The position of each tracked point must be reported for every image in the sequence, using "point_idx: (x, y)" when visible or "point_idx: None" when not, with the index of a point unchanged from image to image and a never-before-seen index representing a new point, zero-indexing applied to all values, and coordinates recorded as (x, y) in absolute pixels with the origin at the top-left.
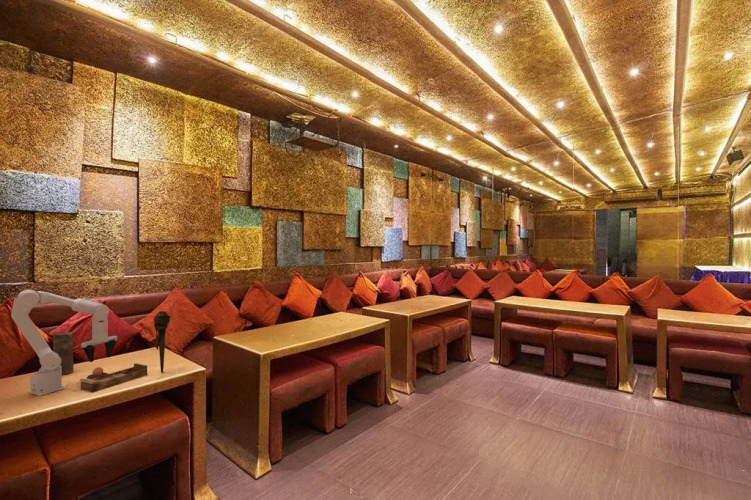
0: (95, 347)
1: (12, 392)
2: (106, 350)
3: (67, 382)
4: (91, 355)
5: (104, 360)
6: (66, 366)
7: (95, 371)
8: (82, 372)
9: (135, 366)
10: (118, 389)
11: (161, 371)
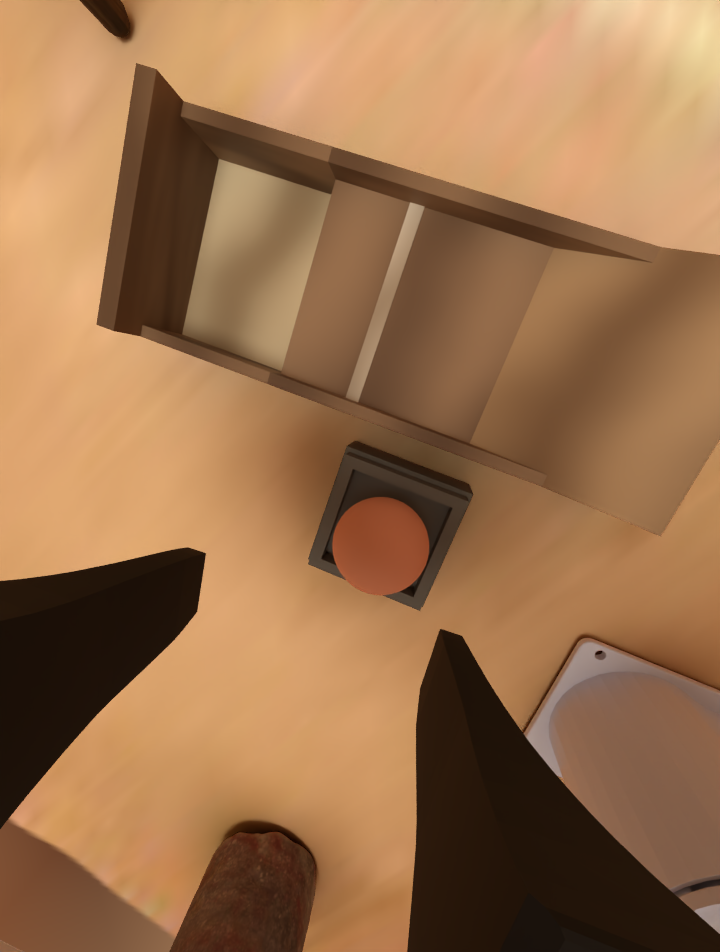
0: (531, 893)
1: None
2: (113, 684)
3: None
4: (512, 723)
5: None
6: (264, 908)
7: (423, 545)
8: (234, 763)
9: (141, 303)
10: (642, 67)
11: (122, 9)
